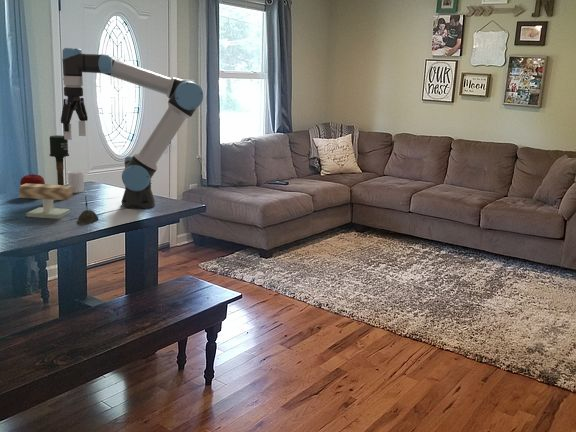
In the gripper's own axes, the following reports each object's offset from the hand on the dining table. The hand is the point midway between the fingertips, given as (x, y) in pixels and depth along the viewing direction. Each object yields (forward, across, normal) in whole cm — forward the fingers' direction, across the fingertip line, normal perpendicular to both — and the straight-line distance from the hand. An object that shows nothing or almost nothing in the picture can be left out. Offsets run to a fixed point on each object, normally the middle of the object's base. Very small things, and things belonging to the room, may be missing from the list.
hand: (75, 137), depth 252 cm
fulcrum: (+33, +7, -10) cm, 35 cm away
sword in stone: (+33, +12, +10) cm, 37 cm away
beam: (+25, +7, -10) cm, 28 cm away
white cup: (+33, -40, -19) cm, 55 cm away
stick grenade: (+33, -21, -18) cm, 43 cm away
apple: (+33, -21, -32) cm, 50 cm away
